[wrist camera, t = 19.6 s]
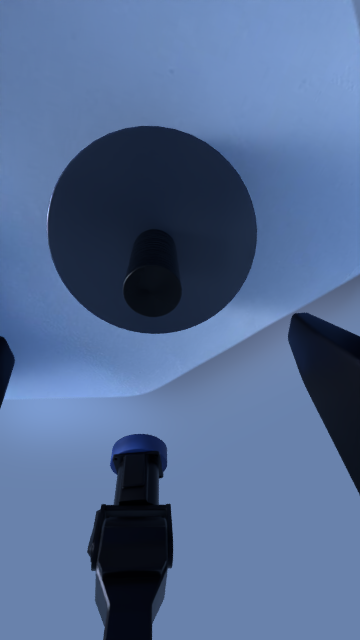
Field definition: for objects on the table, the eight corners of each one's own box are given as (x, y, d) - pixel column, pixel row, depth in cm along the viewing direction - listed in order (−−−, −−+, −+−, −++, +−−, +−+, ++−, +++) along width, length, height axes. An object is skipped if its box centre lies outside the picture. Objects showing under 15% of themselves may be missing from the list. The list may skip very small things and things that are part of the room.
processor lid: (244, 318, 20) (273, 381, 15) (81, 330, 20) (53, 399, 14) (261, 118, 13) (323, 108, 8) (22, 134, 13) (-66, 133, 8)
